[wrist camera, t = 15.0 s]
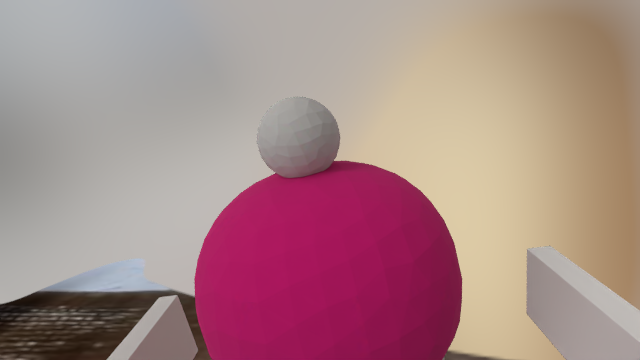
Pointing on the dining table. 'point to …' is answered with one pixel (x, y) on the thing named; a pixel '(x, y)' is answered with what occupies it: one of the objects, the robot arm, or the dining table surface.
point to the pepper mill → (326, 257)
